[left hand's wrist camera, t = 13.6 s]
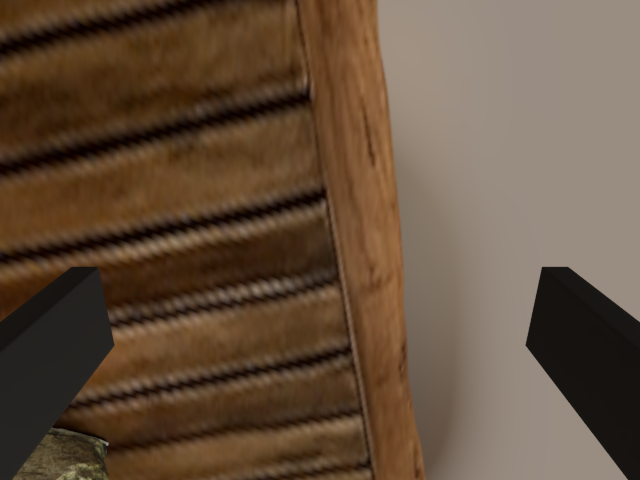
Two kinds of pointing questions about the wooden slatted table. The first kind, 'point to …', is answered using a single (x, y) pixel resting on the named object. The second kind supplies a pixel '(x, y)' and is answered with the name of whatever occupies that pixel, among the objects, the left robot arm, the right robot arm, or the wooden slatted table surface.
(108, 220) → the wooden slatted table surface
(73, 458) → the fossil
